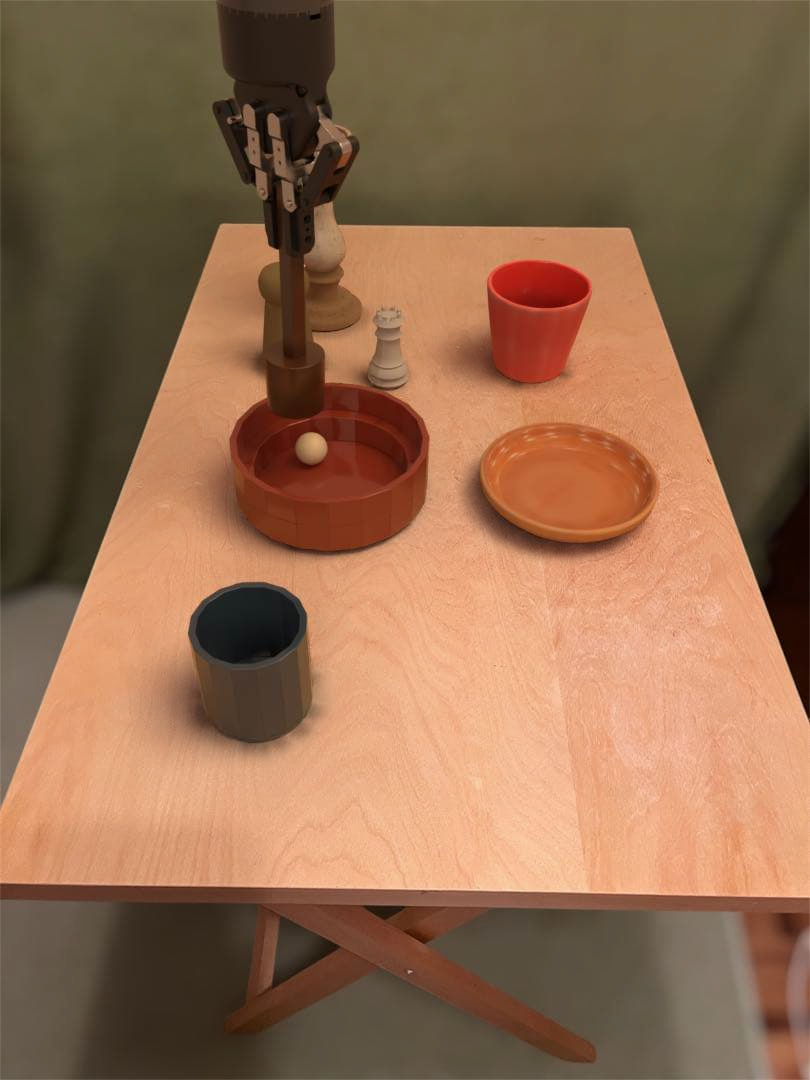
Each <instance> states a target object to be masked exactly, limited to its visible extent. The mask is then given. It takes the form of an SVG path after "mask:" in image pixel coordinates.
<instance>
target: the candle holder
mask: <svg viewBox="0 0 810 1080" xmlns="http://www.w3.org/2000/svg"><path fill="white" fill-rule="evenodd" d="M333 124H334V125H335V126H336V127H337V129H338V130H339V131H340V132H341V134H342V135H343V136H344V137H347V136H350V135H353V136H354V134H353V132H352V131H351V130H350V129H348V128H347V127H345V126H342V125H339V124H335V123H333ZM300 184H302V182H301V183H300ZM302 189H303V186H302ZM314 226H315V228H314V230H315V234H314V235H315V244H314V247H313V248H312V250H311V252H309V253H307V254H305V255H304V269H305V271H306V272H307V275H308V278H309V284H310V286H309V291H308V294H307V296H306V297H305V301H306V306H307V311H308V316H309V321H310V326H311V330H312V331H317V332H330V331H338V330H342V329H345V328H348V327H350V326H352V325H354V324H355V323H356V322H358V320H359V319H360V318H361V316H362V311H363V307H362V305H363V304H362V302H361V300H360V299H359V298H358V297H357V296H356V295H355V294H354V293H352V292H351V291H350V290H349V289H348V288H346V287H344V286H342V285H339V284H340V282H341V280H342V279H343V277H344V275H345V271H344V269H343V267H342V266H341V264H342V263H343V261H344V260H345V257H346V254H347V245H346V240H345V238H344V235H343V233H342V231H341V229H340V227H339V225H338V223H337V220H336V216H335V211H334V201H332V202H330V203H325V204H323V205H320V206H318V207H315V208H314ZM353 294H354V295H353Z"/></svg>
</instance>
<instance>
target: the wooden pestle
mask: <svg viewBox="0 0 810 1080" xmlns="http://www.w3.org/2000/svg"><path fill="white" fill-rule="evenodd" d="M297 184H298V190H300V189H302V184H301V183H299V182H297ZM276 198H277V219H278V242H279V250H278V262H279V267H280V290H281V313H282V336H283V340H280V341H277V342H274V343H272V344H271V345H269V346H268V347H267V348H266V350H265V369H264V370H265V384H266V385H265V386H266V387H265V389H266V398H267V405H268V408H269V410H270V411H271V412H272V413H274V414H275V415H277V416H279V417H282V418H286V419H294V420H299V419H307V418H310V417H313V416H315V415H317V414H319V413H320V412H321V411H322V410H323V409H324V407H325V383H326V357H325V356H326V352H325V349H324V348H323V347H322V346H321V345H320V344H319V343H318V342H315V341H314V342H313V341H310V340H306V323H305V282H304V267H305V264H304V255H303V256H300V257H298V258H293V257H291V256H289V255H287V254H286V250H285V235H284V221H283V209H285V206H284V203H283V193H282V182H280V183H277V184H276Z"/></svg>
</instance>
